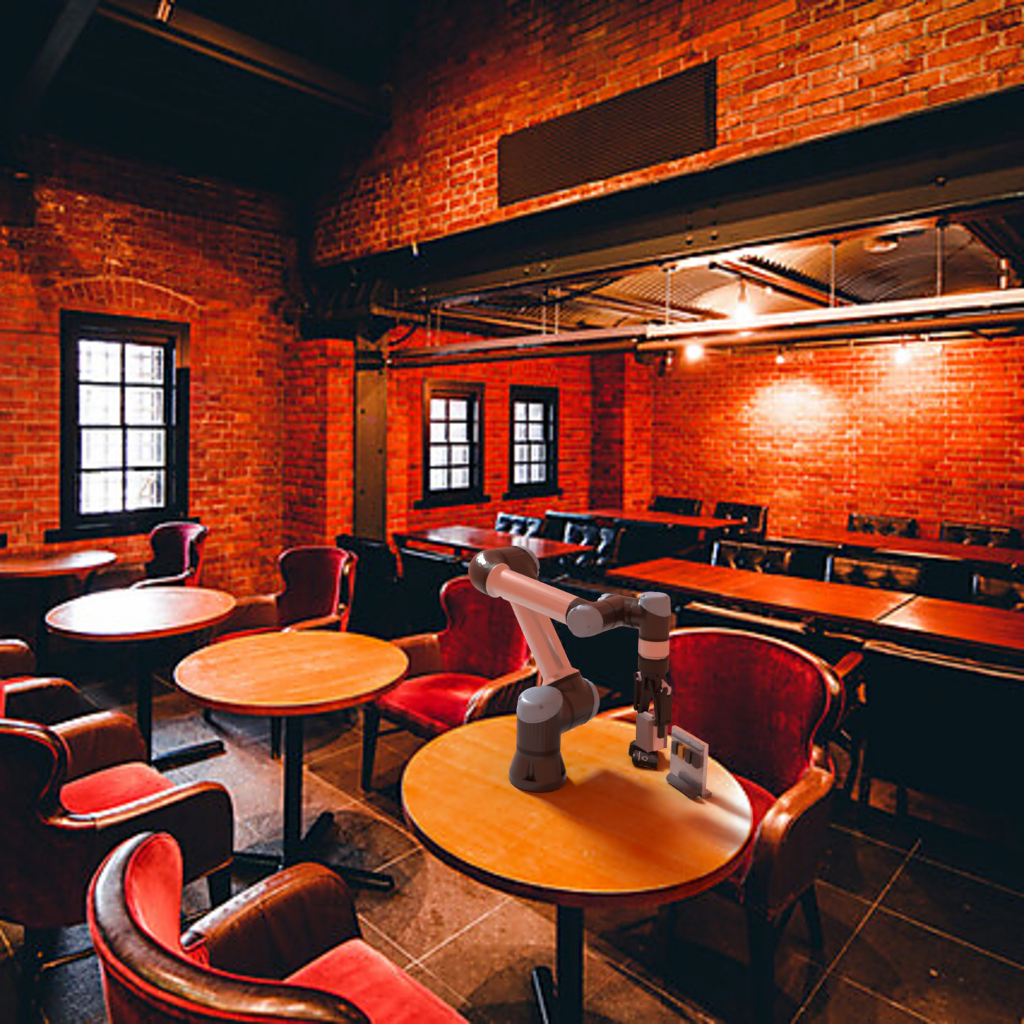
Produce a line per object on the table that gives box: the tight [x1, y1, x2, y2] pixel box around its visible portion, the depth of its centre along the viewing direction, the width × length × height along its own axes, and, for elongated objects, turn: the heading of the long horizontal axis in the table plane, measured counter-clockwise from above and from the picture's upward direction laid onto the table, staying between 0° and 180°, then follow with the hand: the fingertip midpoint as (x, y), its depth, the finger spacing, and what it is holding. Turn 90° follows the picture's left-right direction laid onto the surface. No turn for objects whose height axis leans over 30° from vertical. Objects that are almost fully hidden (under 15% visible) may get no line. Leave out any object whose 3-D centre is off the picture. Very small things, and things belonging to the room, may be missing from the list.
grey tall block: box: [635, 710, 669, 752], centre depth 184 cm, size 7×5×9 cm
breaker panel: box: [669, 725, 713, 799], centre depth 190 cm, size 4×13×14 cm, turn 26°
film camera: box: [628, 739, 659, 770], centre depth 206 cm, size 13×8×10 cm
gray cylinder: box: [665, 772, 699, 800], centre depth 188 cm, size 10×2×2 cm, turn 26°
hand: (651, 744), depth 184 cm, fingers closed on grey tall block, 5 cm apart
